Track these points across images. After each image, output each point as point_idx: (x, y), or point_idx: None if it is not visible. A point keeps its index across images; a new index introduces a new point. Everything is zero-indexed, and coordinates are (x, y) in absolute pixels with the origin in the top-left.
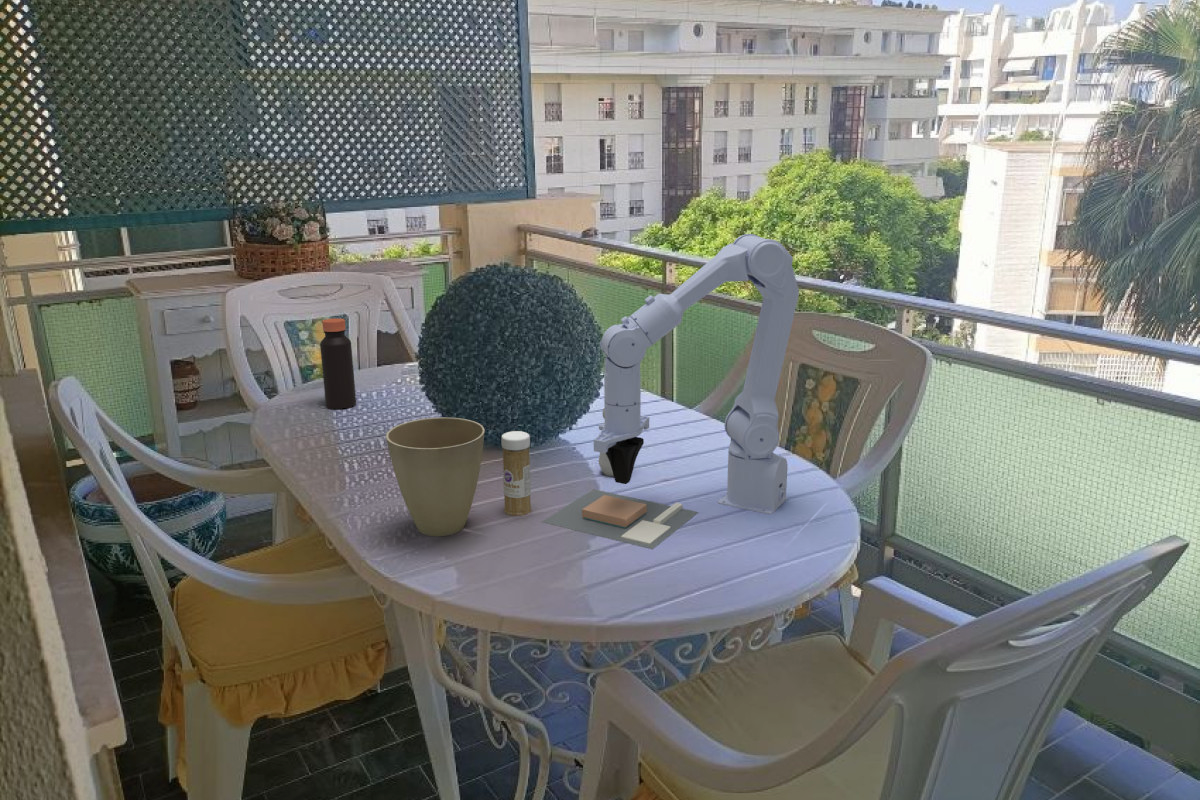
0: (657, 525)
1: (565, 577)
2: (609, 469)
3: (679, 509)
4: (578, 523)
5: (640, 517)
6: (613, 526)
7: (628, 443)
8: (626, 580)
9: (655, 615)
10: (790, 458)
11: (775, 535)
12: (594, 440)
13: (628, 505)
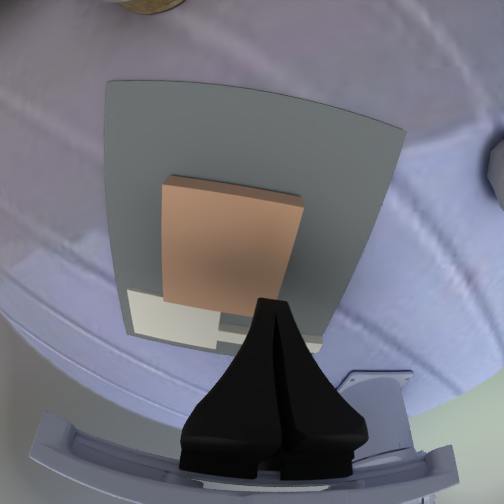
0: (209, 332)
1: (3, 244)
2: (498, 169)
3: None
4: (140, 178)
5: None
6: None
7: (265, 462)
8: (48, 313)
9: (31, 341)
10: (495, 372)
11: None
12: (30, 454)
13: (246, 288)
